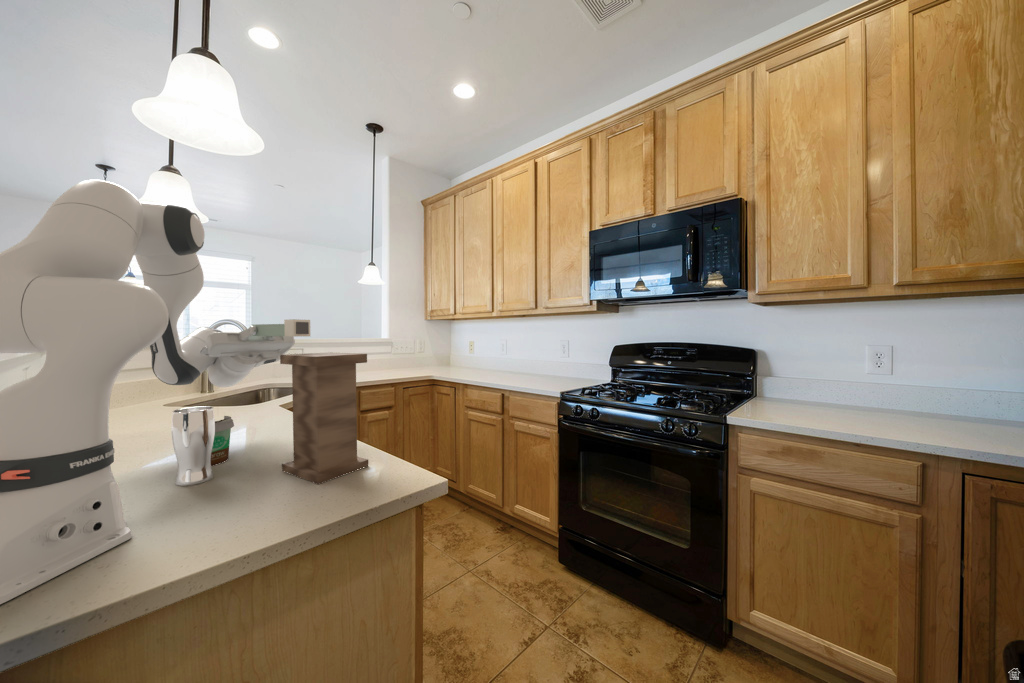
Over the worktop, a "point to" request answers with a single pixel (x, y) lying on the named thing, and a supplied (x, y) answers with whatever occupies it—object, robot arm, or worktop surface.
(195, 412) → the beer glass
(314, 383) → the wooden pedestal column
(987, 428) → the worktop surface
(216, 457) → the food container
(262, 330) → the sage bar
